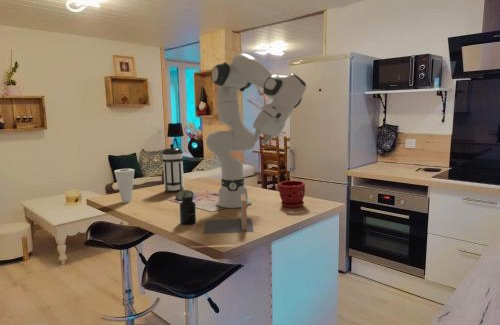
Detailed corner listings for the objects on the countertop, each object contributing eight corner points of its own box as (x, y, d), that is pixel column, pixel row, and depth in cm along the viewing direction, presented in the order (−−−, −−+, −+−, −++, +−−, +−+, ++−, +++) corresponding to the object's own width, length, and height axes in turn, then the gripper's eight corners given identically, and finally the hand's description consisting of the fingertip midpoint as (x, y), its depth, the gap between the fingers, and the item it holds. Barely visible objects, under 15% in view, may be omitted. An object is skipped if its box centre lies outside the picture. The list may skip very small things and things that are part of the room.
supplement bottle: (193, 225, 147) (191, 198, 145) (178, 224, 148) (176, 198, 146) (198, 220, 154) (197, 194, 152) (183, 220, 155) (182, 194, 153)
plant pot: (281, 202, 183) (281, 180, 181) (306, 203, 179) (306, 180, 178) (276, 208, 170) (276, 185, 169) (303, 209, 167) (303, 185, 165)
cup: (113, 204, 187) (110, 171, 184) (122, 199, 197) (120, 168, 195) (131, 204, 186) (129, 171, 183) (139, 199, 196) (137, 168, 194)
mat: (206, 221, 152) (206, 220, 152) (251, 219, 153) (251, 218, 153) (203, 235, 134) (203, 233, 134) (253, 233, 135) (253, 231, 135)
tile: (241, 220, 150) (240, 194, 148) (245, 220, 150) (245, 193, 148) (242, 229, 138) (241, 200, 136) (247, 229, 138) (246, 200, 136)
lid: (194, 196, 201) (194, 188, 200) (192, 200, 191) (192, 191, 190) (176, 197, 200) (176, 188, 200) (173, 201, 191) (173, 192, 190)
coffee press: (156, 192, 215) (153, 144, 211) (176, 187, 227) (174, 142, 223) (173, 195, 204) (170, 145, 200) (193, 190, 216) (191, 143, 212)
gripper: (280, 114, 146) (263, 141, 149) (261, 103, 128) (242, 134, 131) (292, 121, 144) (274, 148, 147) (274, 112, 126) (254, 143, 128)
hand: (259, 142), depth 139 cm, fingers open, 8 cm apart
